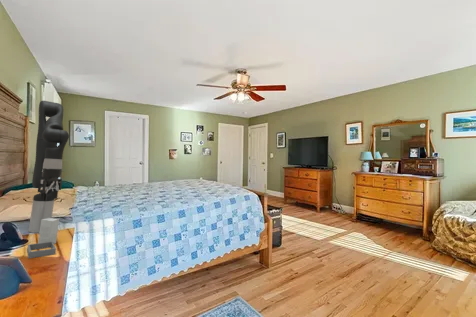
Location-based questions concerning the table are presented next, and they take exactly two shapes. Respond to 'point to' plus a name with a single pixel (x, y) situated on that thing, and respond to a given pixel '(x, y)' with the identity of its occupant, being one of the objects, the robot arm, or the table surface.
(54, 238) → the skincare box
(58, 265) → the table surface
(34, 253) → the frame
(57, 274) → the table surface
